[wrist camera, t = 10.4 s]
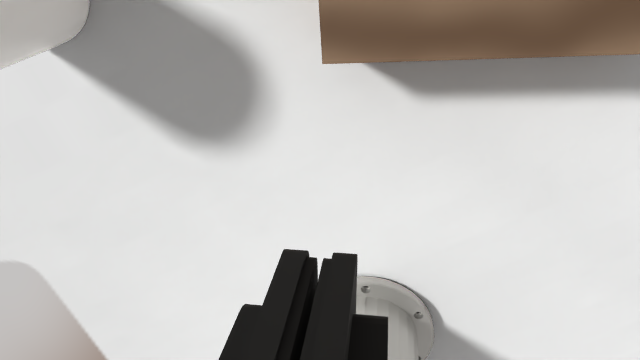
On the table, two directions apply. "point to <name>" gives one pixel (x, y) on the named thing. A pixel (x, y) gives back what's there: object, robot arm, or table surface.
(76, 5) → the candle holder
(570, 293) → the table surface
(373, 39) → the brown slab
